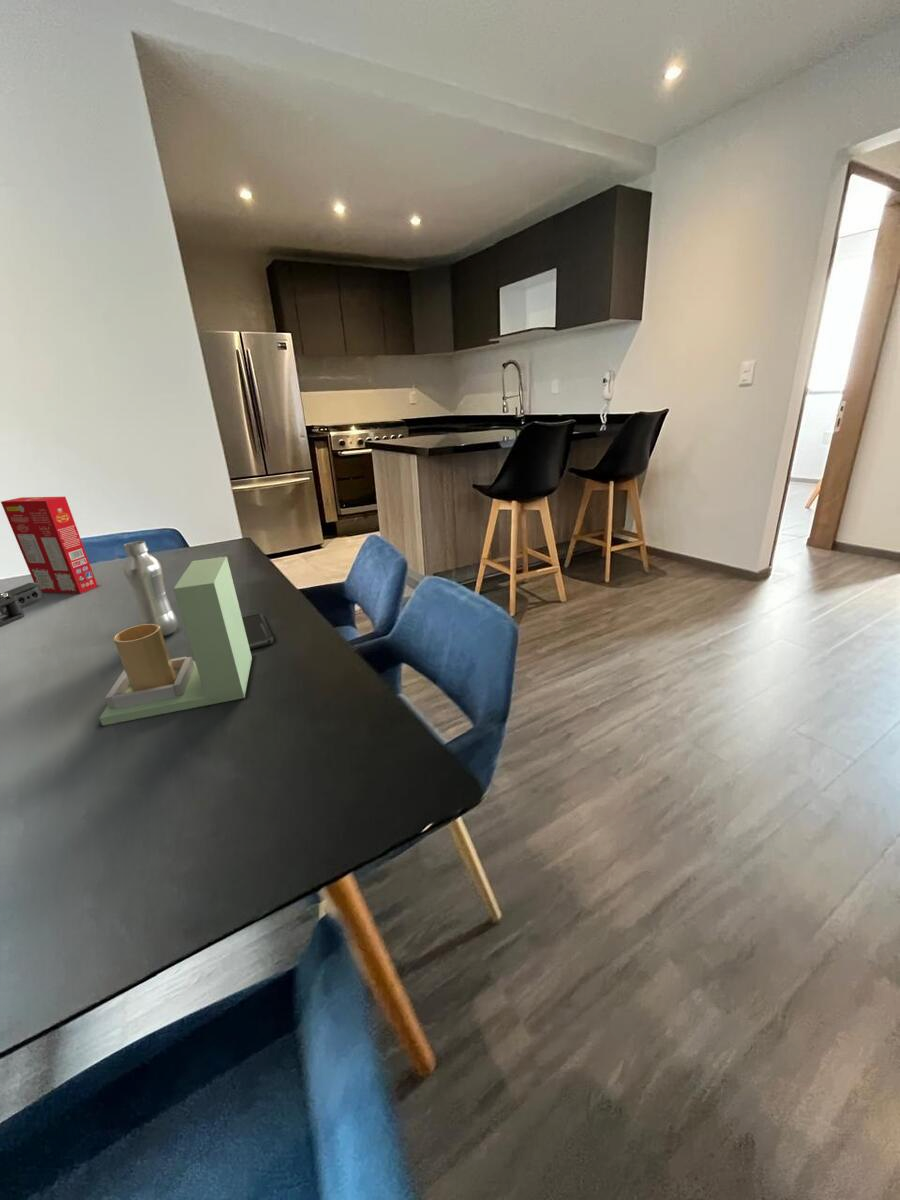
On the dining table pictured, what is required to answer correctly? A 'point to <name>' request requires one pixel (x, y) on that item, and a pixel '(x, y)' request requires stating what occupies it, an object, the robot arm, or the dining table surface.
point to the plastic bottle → (149, 587)
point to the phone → (257, 631)
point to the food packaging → (50, 543)
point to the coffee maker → (195, 650)
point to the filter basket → (145, 657)
